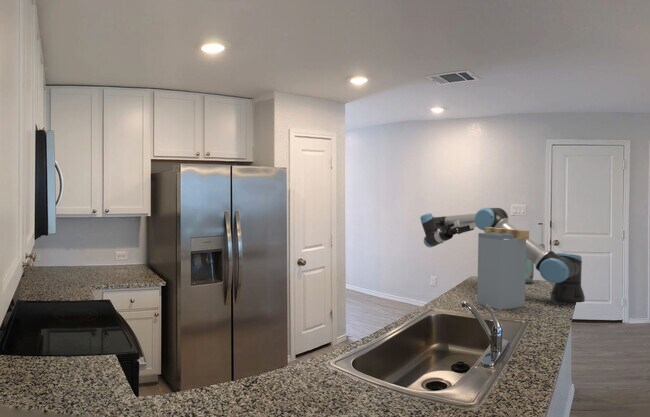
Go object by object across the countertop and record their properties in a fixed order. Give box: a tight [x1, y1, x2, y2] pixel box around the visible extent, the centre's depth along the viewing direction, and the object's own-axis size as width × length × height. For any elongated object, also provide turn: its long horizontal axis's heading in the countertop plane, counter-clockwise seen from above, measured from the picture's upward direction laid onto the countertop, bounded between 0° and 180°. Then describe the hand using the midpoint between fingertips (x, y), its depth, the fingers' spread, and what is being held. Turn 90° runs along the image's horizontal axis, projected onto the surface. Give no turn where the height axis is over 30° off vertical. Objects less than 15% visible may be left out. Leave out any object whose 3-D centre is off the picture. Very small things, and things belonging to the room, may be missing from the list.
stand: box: [476, 232, 526, 311], centre depth 223 cm, size 14×16×34 cm
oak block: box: [483, 227, 530, 240], centre depth 226 cm, size 23×4×4 cm, turn 28°
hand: (468, 222), depth 253 cm, fingers open, 13 cm apart
